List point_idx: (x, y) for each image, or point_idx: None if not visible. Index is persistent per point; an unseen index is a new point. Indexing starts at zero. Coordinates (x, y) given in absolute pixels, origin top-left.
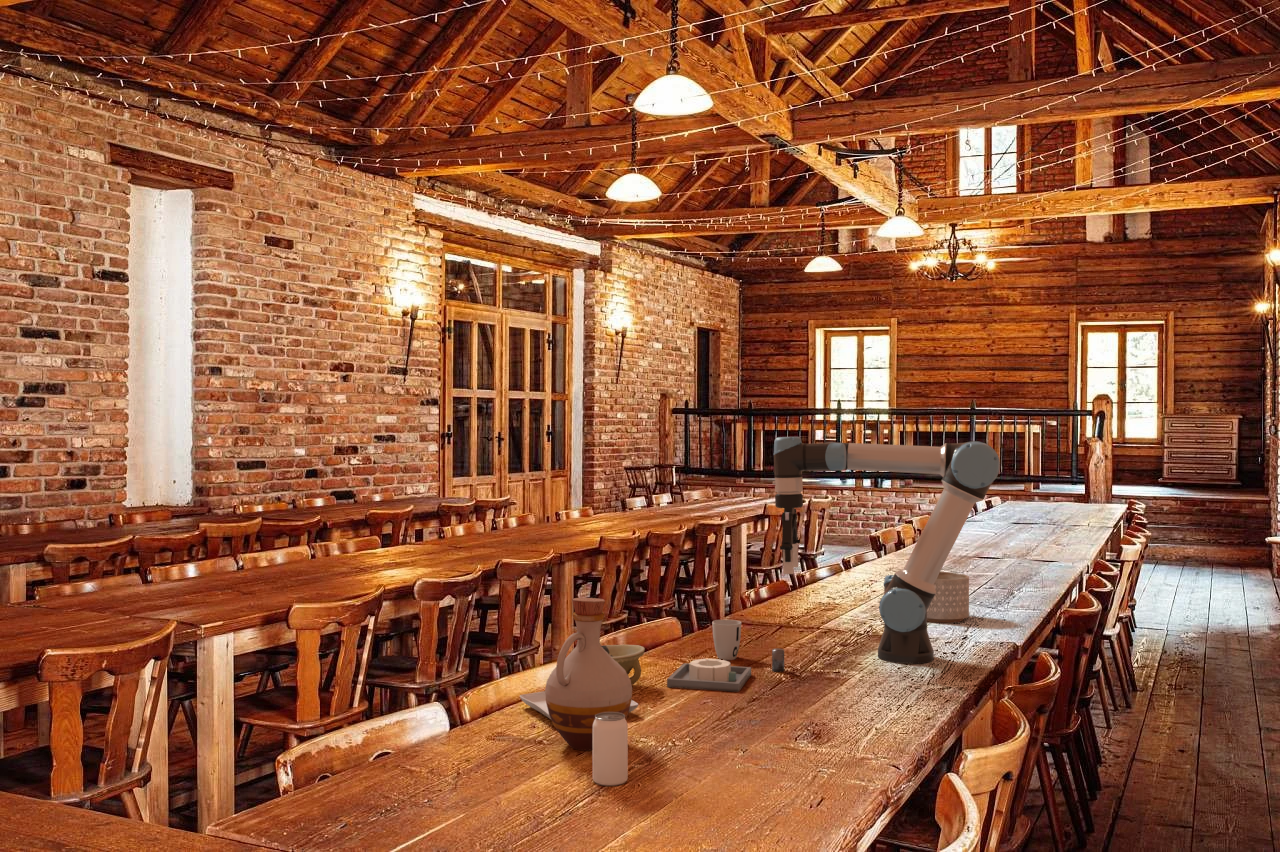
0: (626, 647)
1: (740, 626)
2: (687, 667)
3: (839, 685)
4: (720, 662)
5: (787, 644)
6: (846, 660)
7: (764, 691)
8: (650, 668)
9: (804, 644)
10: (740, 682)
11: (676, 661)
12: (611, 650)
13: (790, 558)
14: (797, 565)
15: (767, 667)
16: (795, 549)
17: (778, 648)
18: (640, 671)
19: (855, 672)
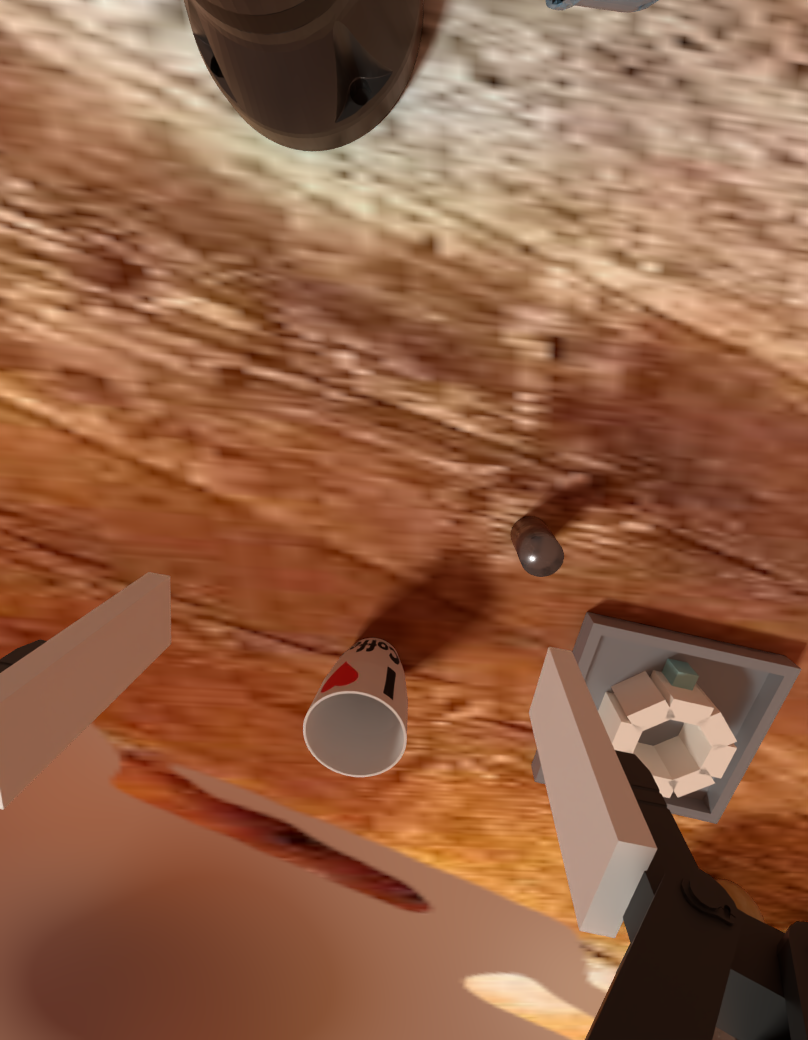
0: None
1: (372, 687)
2: None
3: (748, 357)
4: (659, 723)
5: (157, 477)
6: (375, 291)
7: (789, 590)
8: (504, 830)
9: (145, 420)
10: (768, 660)
11: (424, 776)
12: None
13: (637, 780)
14: (161, 586)
15: (489, 561)
16: (50, 686)
17: (523, 554)
18: (753, 902)
19: (562, 277)
